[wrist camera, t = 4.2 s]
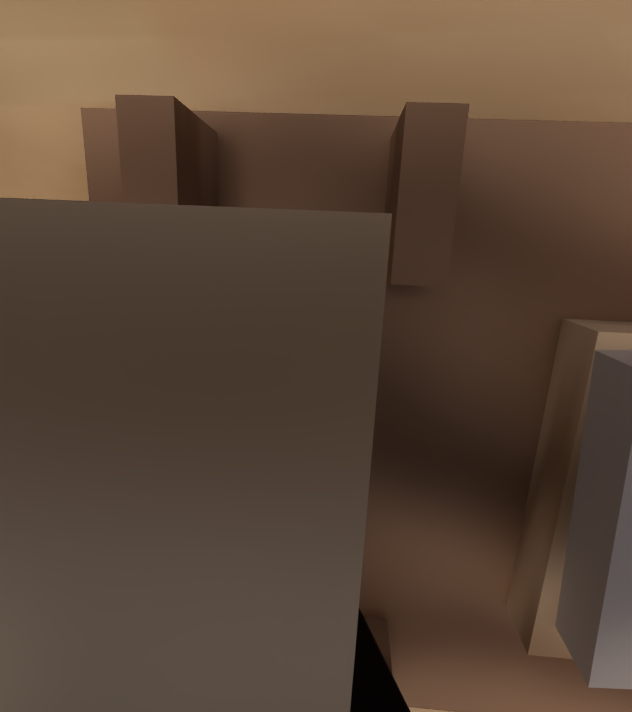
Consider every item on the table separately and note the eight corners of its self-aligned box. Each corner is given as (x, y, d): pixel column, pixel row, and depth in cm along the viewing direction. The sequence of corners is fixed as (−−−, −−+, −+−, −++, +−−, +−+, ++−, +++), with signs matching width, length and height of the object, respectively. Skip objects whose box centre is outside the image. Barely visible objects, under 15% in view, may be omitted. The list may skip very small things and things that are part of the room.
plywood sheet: (324, 745, 12) (302, 1277, 6) (220, 734, 12) (91, 1241, 6) (358, 233, 9) (391, 213, 2) (209, 226, 9) (-143, 191, 2)
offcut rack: (654, 715, 16) (738, 844, 13) (140, 664, 17) (89, 770, 14) (848, 135, 11) (1080, 87, 8) (93, 114, 12) (-9, 63, 9)
